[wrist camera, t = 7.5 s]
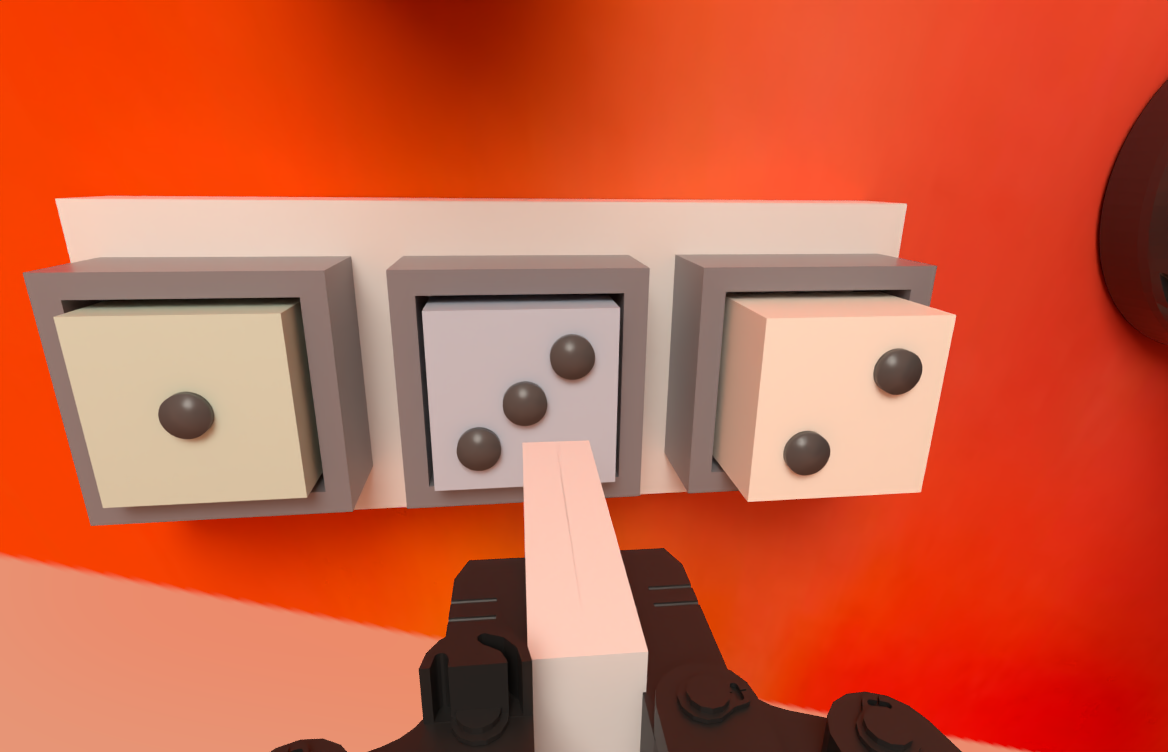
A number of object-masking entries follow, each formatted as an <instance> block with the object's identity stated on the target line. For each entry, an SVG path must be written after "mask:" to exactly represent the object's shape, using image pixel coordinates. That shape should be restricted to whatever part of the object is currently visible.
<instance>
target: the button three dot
mask: <svg viewBox="0 0 1168 752" xmlns="http://www.w3.org/2000/svg"><path fill="white" fill-rule="evenodd" d="M422 320H423V334H424V347H425V361H426V375H427V389H428V403H429V417H430V431H431V445H432V459H433V473H434V486H435V491H446V490H466V489H485V488H505V487H523V445H522V443H527V442H556V441H586V440H589V442H590V446H591V450H592V453H593V457H594V460H595V464H596V467H597V471H598V475H599V478H600V482H601V483H603V482H615V467H616V433H617V398H618V364H619V329H620V307H619V306H618V305H617V304H616V303H615V302H614V301H613V300H612V298H611V297H610V296H609V295H608V294H607V293H594V294H515V295H436V296H431V297H430V298H429V300H428V302H427V303H426V305H425V307H424V308H423V310H422Z"/></svg>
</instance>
